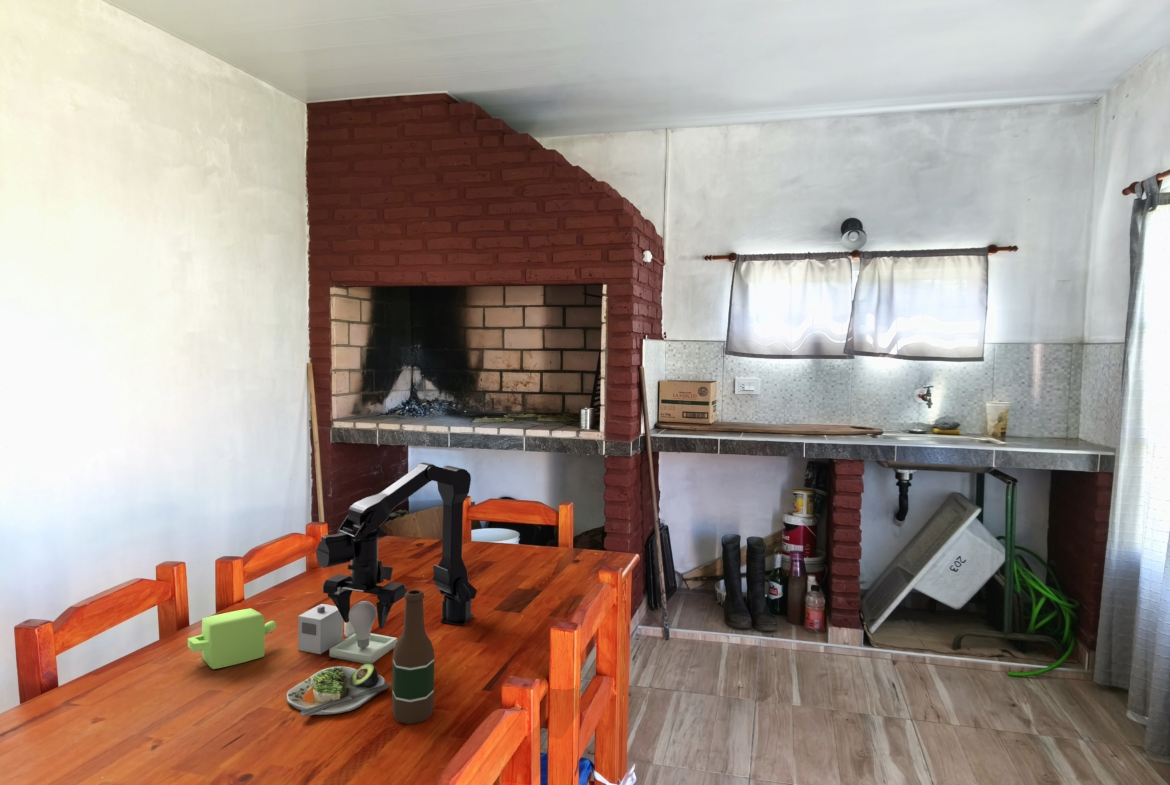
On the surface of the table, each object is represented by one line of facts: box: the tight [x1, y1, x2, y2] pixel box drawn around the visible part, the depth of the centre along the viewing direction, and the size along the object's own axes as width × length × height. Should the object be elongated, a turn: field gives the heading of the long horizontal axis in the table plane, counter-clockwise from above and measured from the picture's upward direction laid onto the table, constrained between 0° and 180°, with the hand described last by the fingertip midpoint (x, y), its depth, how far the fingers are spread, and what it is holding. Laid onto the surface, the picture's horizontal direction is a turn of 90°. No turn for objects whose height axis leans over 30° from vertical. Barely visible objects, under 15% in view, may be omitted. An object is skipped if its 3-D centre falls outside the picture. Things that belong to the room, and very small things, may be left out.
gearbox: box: [187, 607, 277, 670], centre depth 158 cm, size 18×10×10 cm, turn 133°
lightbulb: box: [349, 600, 378, 649], centre depth 161 cm, size 6×6×11 cm
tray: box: [329, 632, 398, 665], centre depth 162 cm, size 11×11×2 cm
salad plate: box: [285, 663, 393, 717], centre depth 141 cm, size 19×18×5 cm
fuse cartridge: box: [343, 621, 355, 638], centre depth 171 cm, size 4×4×5 cm
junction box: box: [297, 603, 344, 655], centre depth 164 cm, size 6×9×9 cm
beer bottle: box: [391, 589, 435, 726], centre depth 134 cm, size 8×8×24 cm
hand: (364, 625), depth 161 cm, fingers open, 9 cm apart
